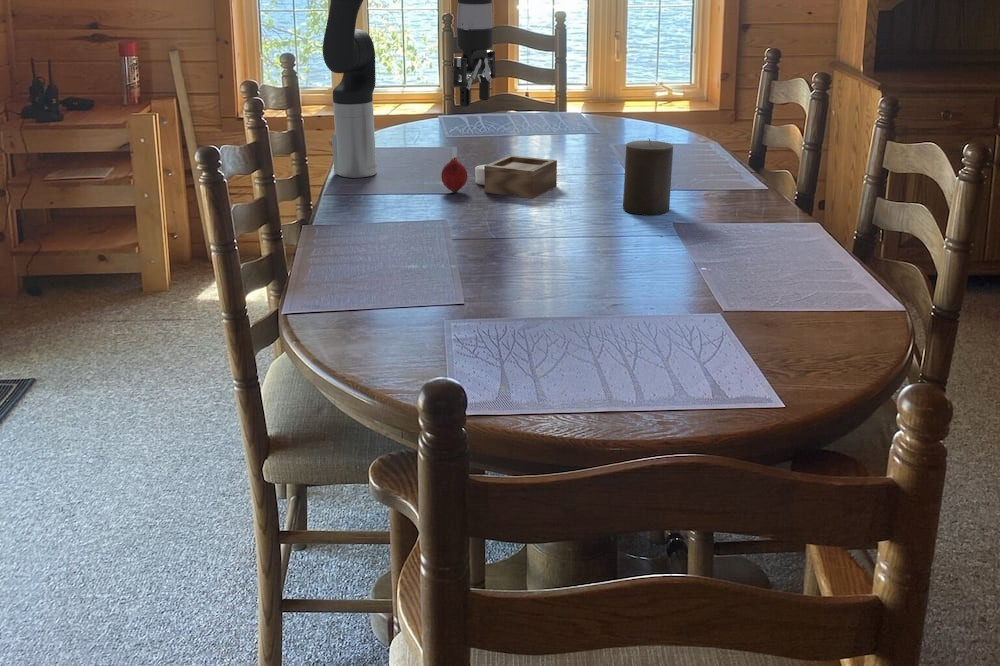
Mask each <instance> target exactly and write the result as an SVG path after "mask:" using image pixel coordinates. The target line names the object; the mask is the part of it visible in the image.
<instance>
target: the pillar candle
mask: <svg viewBox="0 0 1000 666" xmlns="http://www.w3.org/2000/svg"><path fill="white" fill-rule="evenodd" d="M673 156H674V145H673V144H672V143H671V142H670V143H669V142H665V141H659V140H651V139H650V138H648V140H644V139H643V140H634V141H633V140H632V141H629V142H626V144H625V161H624V162H625V163H624V180H623V196H622V197H623V198H622V208H623V211H625V212H626V211H627V213H629V212H630V213H631V214H633V213H634V215H640V214H642V215H641V216H646V215H647V216H657V215H656V214H659V215H663V213H665V214H667V213H668V212H669V211H670V207H671V206H670V205H671V203H670V202H671V188H672V186H671V185H672V173H673V171H672V170H673V158H674V157H673ZM666 212H667V213H666ZM644 214H645V215H644Z"/></svg>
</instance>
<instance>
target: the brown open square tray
mask: <svg viewBox="0 0 1000 666" xmlns="http://www.w3.org/2000/svg"><path fill="white" fill-rule="evenodd" d="M484 165H485V166H484V172H485V185H484V193H488V194H496V195H503V196H511V197H519V198H527V199H535V198H537V197H539V196H541V195H543V194H545V193H547V192H548V191H550V190H553V189H554V188H556V187H557V181H558V179H557V176H558V175H557V174H558V171H557V170H558V169H557V168H558V161H557V159H549V158H539V157H529V156H521V155H520V156H519V155H512V154H511V155H507V156H504V157H502V158H499V159H498V160H495V161H493V162H490V163H488V164H484Z"/></svg>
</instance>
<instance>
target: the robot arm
mask: <svg viewBox="0 0 1000 666" xmlns="http://www.w3.org/2000/svg"><path fill="white" fill-rule="evenodd" d="M363 2H364V0H330V5H329V10H328V17H327V21H326V26H325V31H324V37H323V42H322V56H323V60H324V63H325V65H326V67H327V69H328V70H329V71H331V72H332V73H334V74H342V78H341V81H340V82H339V83H338V84H337V86H335V87H334V89H333V90H332V102H333V103H332V105H333V119H334V121H333V123H334V133H332V134H331V145H332V159H333V160H332V161H333V171H334V172H333V173H334V175H338V176H340V177H343V178H354V179H355V178H365V177H371V176H374V175H376V174H377V155H376V153H377V152H376V135H375V133H376V132H375V120H374V119H375V118H374V117H375V115H374V101H373V97H374V95H373V94H374V91H375V89H376V51H375V49H376V48H375V44H374V41H373V39H372V37H371V36H370V35H369V33H368V32H367V31H365V30H363V29H361V28H360V29H359V28H356V25H357V19H358V13H359V11H360V9H361V6H362V4H363ZM492 6H493V5H492V0H457V11H456V47H457V49H460V50H462V56H460V57H459V56H458V57H457V56H455V57H454V58H453V84H452V85H453V87H457V88H458V89H459V105H460V107H465V108H468V107H471V103H472V102H471V101H472V100H471V86H472V83H473V81H475V79H476V77H477V78H478V81H479V84H478V85H479V86H478V89H479V91H478V92H479V95H478V96H479V97H478V98H479V100H480V101H489V100H490V90H491V89H490V87H491V85H490V84H491V83H492V81H493V80H492V79H495V78H496V52H495V50H491V49H492V48H493V46H494V45H493V41H494V40H493V38H494V37H493V35H494V34H493V33H494V31H493V30H494V28H493V26H494V25H493V23H494V21H493V15H494V14H493V7H492Z"/></svg>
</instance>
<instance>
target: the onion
mask: <svg viewBox="0 0 1000 666" xmlns="http://www.w3.org/2000/svg"><path fill="white" fill-rule="evenodd" d="M468 176H469V175H468V171H467V169H466V167H465V166H464V165H463V164H462V163H461V162H459V161H458V157H457V156H452V157H451V159H450V161H449V162H448V163H446V164H444V167H443V168H442V170H441V175H440V178H441V182H442V184H443V186H445V188H446V189H448V190H449V191H451V192H452V193H458V192H459V191H460V189H462V188H463V187H464V186H465V184H466V183H467V182H468Z"/></svg>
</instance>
